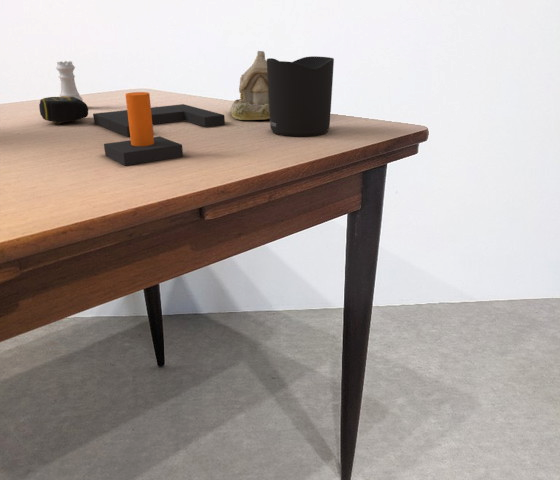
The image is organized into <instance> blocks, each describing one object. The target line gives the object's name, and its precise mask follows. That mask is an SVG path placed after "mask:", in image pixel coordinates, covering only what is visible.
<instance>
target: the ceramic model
mask: <svg viewBox="0 0 560 480" xmlns="http://www.w3.org/2000/svg"><path fill="white" fill-rule="evenodd" d="M256 54H257V55H256V57H255V59H254V61H253V63H252V65H251V66H249V68H247V70H246V71H245V72H244V73H243V74H241V76H240V78H239V85H238V86H239V87H238V92H239V95H240V96H239V99H238V98H237V99H235V100H234V101H233V103H232V104H231V106H230V108H229V109H230V113H231V116H232V118H234V119H236V120H240V121H256V120H257V121H259V120H270V112H269V96H268V77H267V59H266V52H265V51H264V50H258V51H257V53H256Z"/></svg>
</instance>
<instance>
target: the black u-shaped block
mask: <svg viewBox="0 0 560 480" xmlns="http://www.w3.org/2000/svg"><path fill="white" fill-rule="evenodd" d="M151 115H152V125H160V124H168V123H178V122H187V123H191V124H195V125H198V126H200V127H204V128H209V127H210V128H211V127H216V126H224V125H225V124H226V122H225V119H226V118H225V114H223V113H222V114H221V113H219V112H215V111H212V110H207V109H203V108H199V107H196V106H193V105H187V104H184V103H182V104H171V105H162V106H153V107H152V106H151ZM92 117H93V123H94V124H95V125H98V126H100V127H103V128H105V129H106V130H107V129H108V130H110V131H112V132H115V133H118V134H120V135H122V136H125V137H127V138H130V130H129V121H128V112H127V109H124V110H115V111H105V112H94V113H93V114H92Z"/></svg>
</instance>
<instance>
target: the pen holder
mask: <svg viewBox="0 0 560 480" xmlns="http://www.w3.org/2000/svg"><path fill="white" fill-rule="evenodd" d="M266 61H267V77H268V96H269V112H270V119H269V125H270V130H271V131H272V133H273V134H276V135H278V136H279V135H280V136H285V137H286V136H287V137H313V136H320V135H324V134H326V133H328V131H329V130H330V125H331V124H330V123H331V113H332V112H331V111H332V98H333V97H332V96H333V81H334V64H335V58H333V57H330V56H316V55H315V56H314V55H313V56H305V57H300V58H298V59H296V60H294V61H286V60H278V59H276V58H267V59H266Z"/></svg>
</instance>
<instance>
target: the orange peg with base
mask: <svg viewBox="0 0 560 480" xmlns="http://www.w3.org/2000/svg"><path fill="white" fill-rule="evenodd" d="M125 103H126V110H127V112H128V121H129V130H130V137H129V140H123V141H122V140H121V141H115V142H106V143H103V148H104V155H105V157H107V158H109V159H111V160H113V161H114V162H117V163H119V164H121V165H123V166H125V167H126V166H131V165H132V166H133V165H138V164H145V163H151V162H157V161H164V160H170V159H177V158H182V157H184V152H183V144H181V143H179V142H177V141H174V140H171V139H169V138H165V137H163V136H160V135H159V136H154V128H153V127H154V126H153V125H154V124H153V125H152V115H151V108H152V106H151V96H150V92H148V91H146V92H145V91H135V92H126V93H125Z"/></svg>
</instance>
